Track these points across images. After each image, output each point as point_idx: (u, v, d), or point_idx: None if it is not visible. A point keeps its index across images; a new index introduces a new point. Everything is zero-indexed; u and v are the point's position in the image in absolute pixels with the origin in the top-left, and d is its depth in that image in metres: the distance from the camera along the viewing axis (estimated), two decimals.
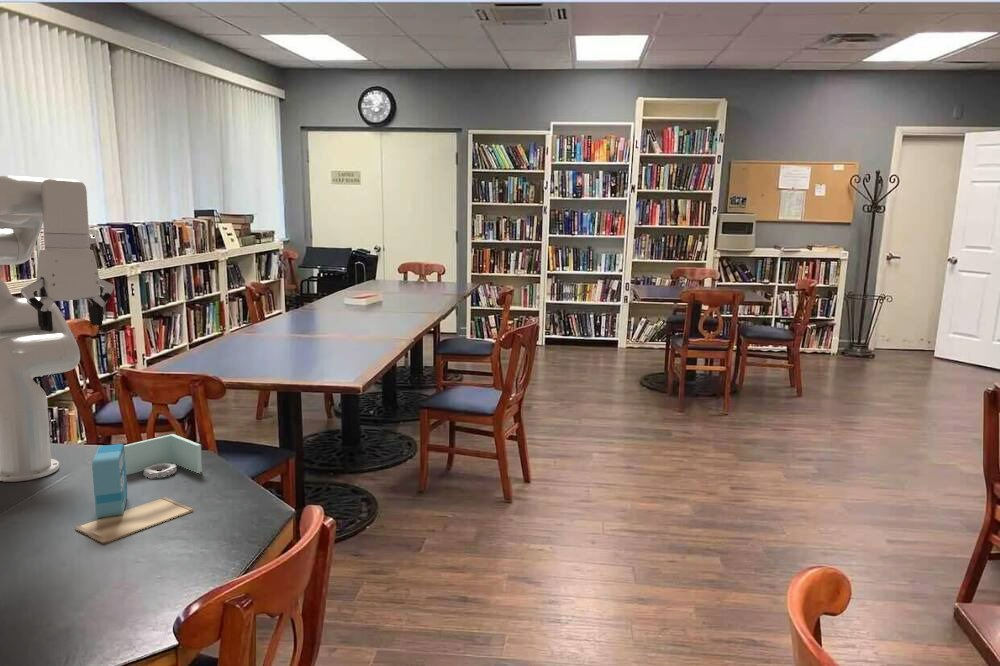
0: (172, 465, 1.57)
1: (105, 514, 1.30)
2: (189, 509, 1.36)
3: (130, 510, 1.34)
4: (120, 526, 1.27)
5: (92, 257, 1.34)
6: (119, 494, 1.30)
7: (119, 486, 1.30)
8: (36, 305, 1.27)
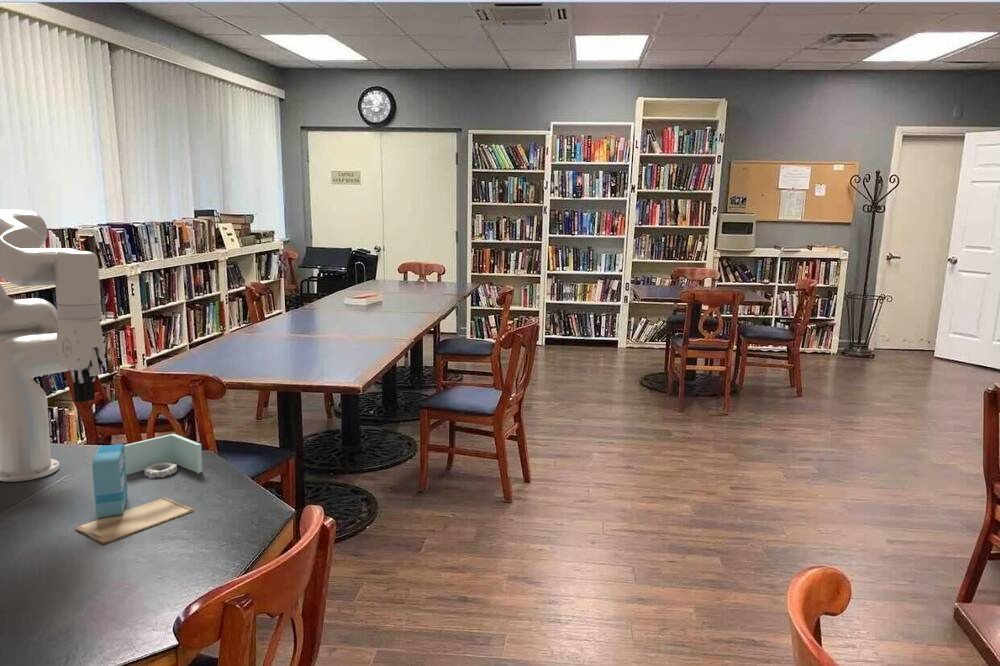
0: (172, 465, 1.57)
1: (105, 514, 1.30)
2: (189, 509, 1.36)
3: (130, 510, 1.34)
4: (120, 526, 1.27)
5: None
6: (119, 494, 1.30)
7: (119, 486, 1.30)
8: None
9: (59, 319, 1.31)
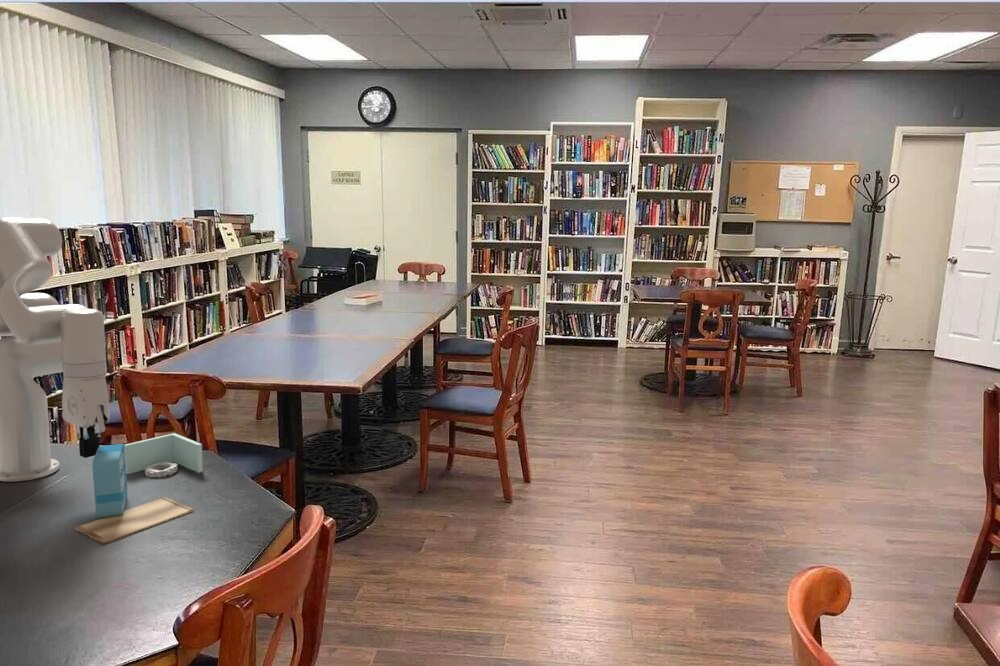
0: (173, 464, 1.57)
1: (105, 514, 1.30)
2: (189, 509, 1.36)
3: (130, 510, 1.34)
4: (120, 526, 1.27)
5: None
6: (119, 494, 1.30)
7: (119, 486, 1.30)
8: None
9: (65, 377, 1.32)
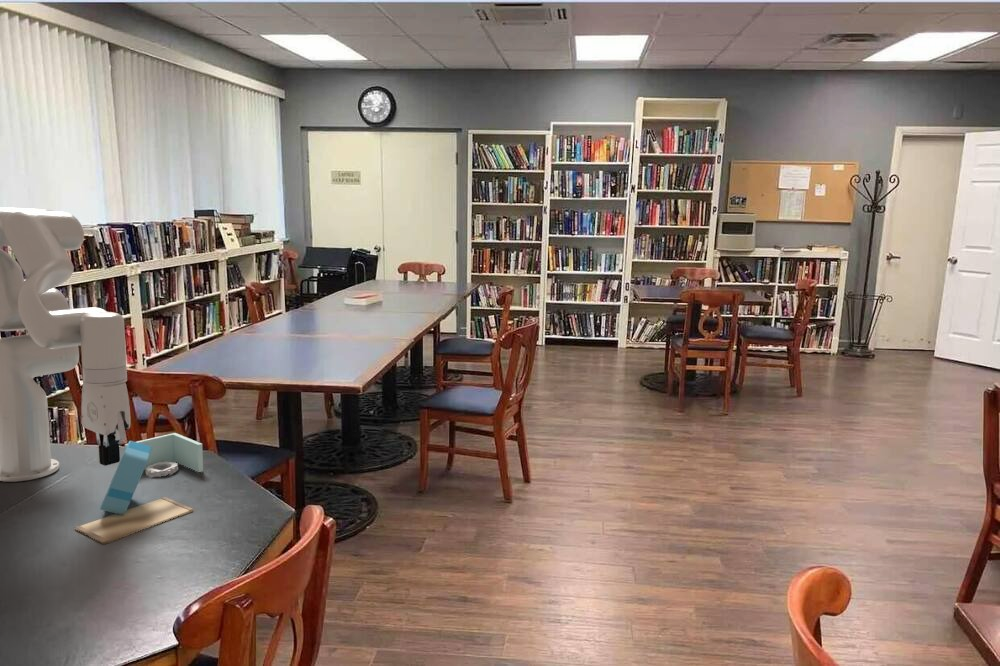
0: (174, 464, 1.57)
1: (109, 508, 1.30)
2: (189, 509, 1.36)
3: (130, 510, 1.34)
4: (120, 526, 1.27)
5: None
6: (131, 494, 1.31)
7: (135, 487, 1.31)
8: None
9: (85, 383, 1.28)
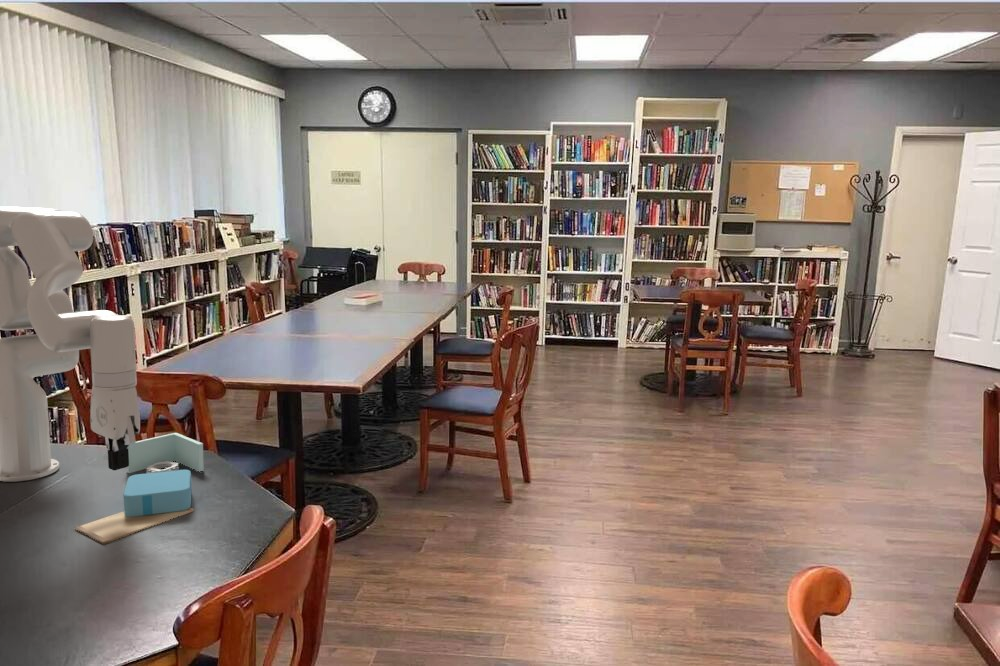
0: (174, 463, 1.58)
1: (128, 503, 1.31)
2: (189, 509, 1.36)
3: None
4: (120, 526, 1.27)
5: None
6: (150, 513, 1.33)
7: (159, 513, 1.33)
8: None
9: (94, 387, 1.27)
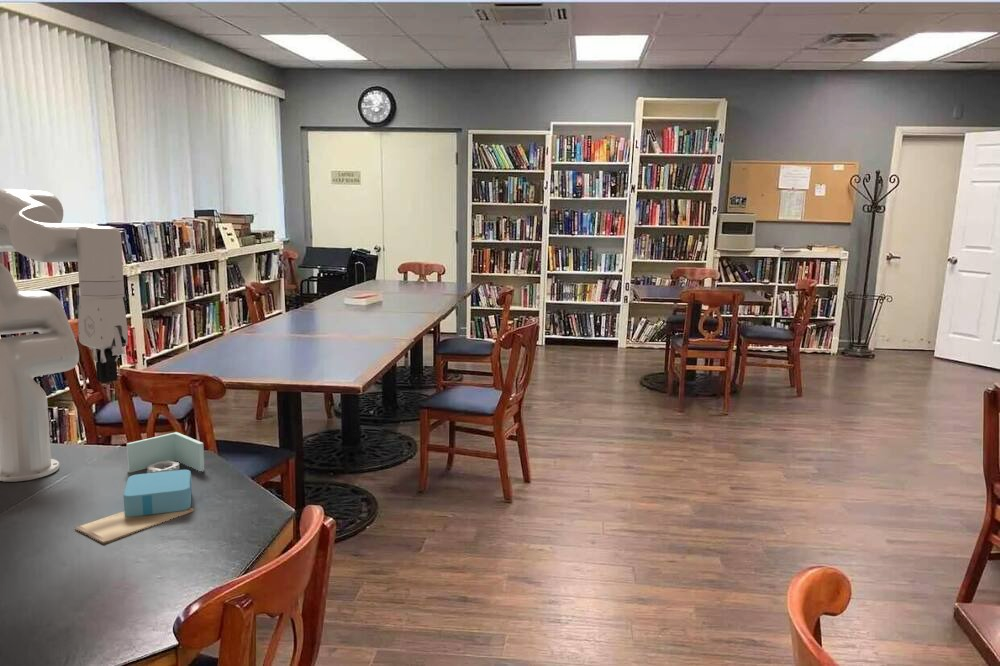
0: (175, 463, 1.58)
1: (128, 503, 1.31)
2: (189, 509, 1.36)
3: None
4: (120, 526, 1.27)
5: None
6: (150, 513, 1.33)
7: (159, 513, 1.33)
8: None
9: (81, 296, 1.27)
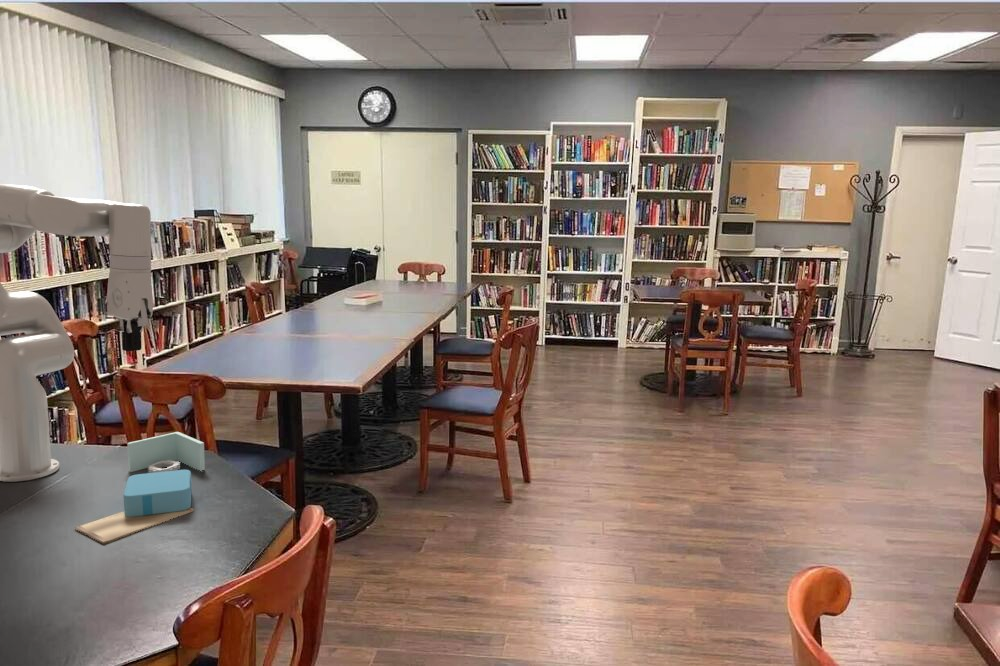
0: (176, 462, 1.58)
1: (128, 503, 1.31)
2: (189, 509, 1.36)
3: None
4: (120, 526, 1.27)
5: None
6: (150, 513, 1.33)
7: (159, 513, 1.33)
8: None
9: (111, 269, 1.35)
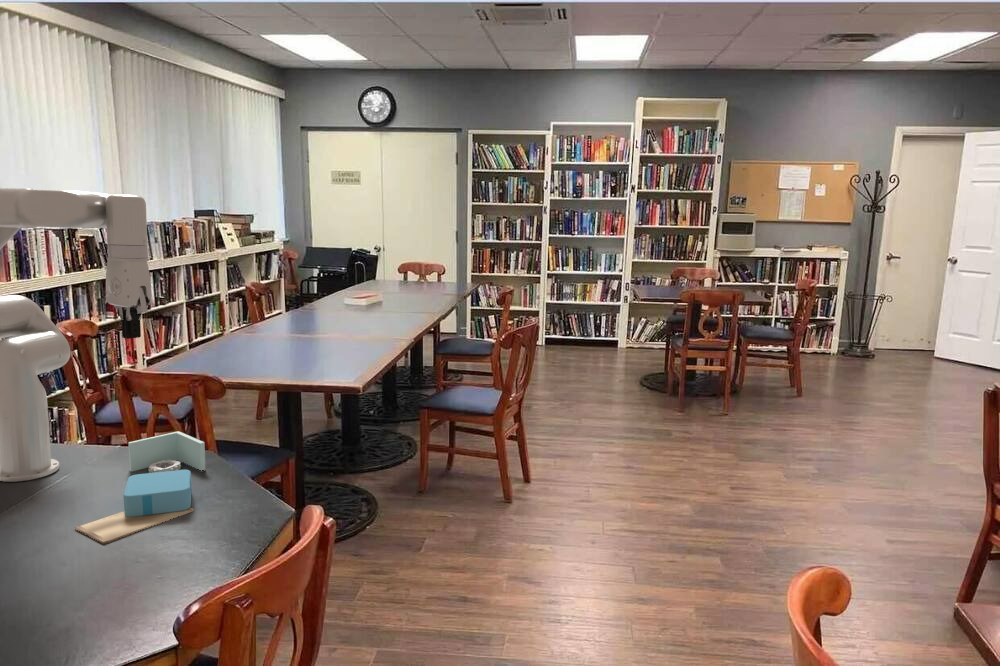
0: (176, 462, 1.59)
1: (128, 503, 1.31)
2: (189, 509, 1.36)
3: None
4: (120, 526, 1.27)
5: None
6: (150, 513, 1.33)
7: (159, 513, 1.33)
8: None
9: (110, 258, 1.39)
